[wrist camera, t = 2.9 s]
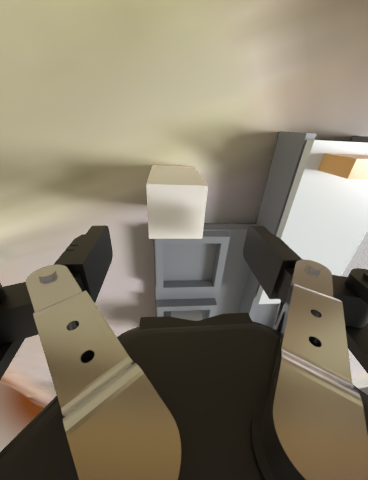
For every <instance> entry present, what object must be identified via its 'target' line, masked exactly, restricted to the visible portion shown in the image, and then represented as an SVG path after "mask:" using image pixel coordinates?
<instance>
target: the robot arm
mask: <svg viewBox="0 0 368 480" xmlns="http://www.w3.org/2000/svg"><path fill="white" fill-rule="evenodd" d="M243 256H244V259H245V261H246V262H247V264H248V265H249V267H250V269H251V270H252V272H253V274H254V275H255V277H256V278H257V280H258V282H259V283H260V285H261V286H262V288H263V290H264V291H265V293H266V294H267V296H268V298H269V299H280V300H281V302H280V304H279V307H278V311H277V315H276V319H275V323H274V327H273V328H271V327H269V326H266V325H264V324H261V323H257V322H253V321H252V320H251V318H250V316H249V313H227V314H220V315H217V316H213V317H210V318H206V319H203V320H199V321H192V320H187V319H181V318H175V317H169V316H163V317H142V318H141V319H140V327H137V328H134V329H131V330H129V331H127V332H125V333H123V334H121V335H120V336H118V337H116V335H115V334H114V332H113V331H112V329H111V328H110V326H109V325H108V323H107V322H106V320H105V318H104V317H103V315H102V314H101V312H100V311H99V309H98V308H97V306H96V305H95V302H96V299H97V297H98V294H99V292H100V289H101V286H102V284H103V281H104V279H105V276H106V274H107V271H108V269H109V266H110V264H111V261H112V246H111V240H110V234H109V229H108V226H92V227H91V228H90V229H89V231H88V232H87V233H86V235H81V236H79V237H77V238H76V239H74V240H73V241H72V243H71V244H70V246H68V248H67V249H66V251H64V253H63V254H62V255H61V256H60V257H59V259H58V260H57V261H56V262H55V264H54V265H49V266H45V267H42V268H40V269H38V270H36V271H34V272H33V273H31V274H30V275H29V276H28V277H27V279H26V282H24V283H19V284H14V285H10V286H5V287H2V285H1V283H0V380H1V378H2V376H3V375H4V373H5V371H6V370H7V368H8V366H9V364H10V363H11V361H12V359H13V358H14V356H15V354H16V353H17V351H18V349H19V348H20V346H21V344H22V343H23V341H24V339H25V338H27V337H31V336H34V335H37V334H39V336H40V340H41V343H42V347H43V350H44V353H45V357H46V360H47V363H48V367H49V370H50V374H51V377H52V380H53V384H54V387H55V390H56V394H57V396H56V397H55V398H54V399H53V400H52V401H51V402H50V403H49V404H48V405H47V406H46V407H45V408H44V409H43V410H42V411H41V412H40V413H39V414H38V415H37V416H36V417H35V418H34V419H33V420H32V421H31V422H30V423H29V424H28V425H27V426H26V427H25V428H24V429H23V430H22V431H21V432H20V433H19V434H18V435H17V436H16V437H15V438H14V439H13V440H12V441H11V442H10V443H9V444H8V445H7V446H6V447H5V448H4V449H3V450H2V451H1V452H0V480H368V395H366V394H365V393H364V392H362V391H361V390H359V389H358V388H357V387H355V386H354V385H353V384H352V379H351V370H350V362H349V353H348V349H349V350H350V351H351V352H352V354H353V355H354V356H355V358H356V359H357V360H358V361H359V363H360V364H361V365H362V367H363V368H364V369H365V370H366V372H367V373H368V270H366V269H359V268H357V269H353V270H351V272H350V274H349V275H348V277H343V276H337V275H332V273H331V271H330V270H329V269H328V268H327V267H325V266H324V265H322V264H320V263H318V262H315V261H311V260H303V259H302V258H300V257H299V256H298V255H297V254H296V253H295V252H294V251H293V250H292V249H291V248H289V246H288V245H287V244H285V242H283V241H282V240H281V239H280V238H279V237H277V236H275V235H273V234H271V233H270V232H269V231H268V230H267V229H266V228H265V227H264V226H249V227H248V230H247V234H246V239H245V243H244V248H243Z"/></svg>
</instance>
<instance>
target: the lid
mask: <svg viewBox="0 0 368 480" xmlns="http://www.w3.org/2000/svg"><path fill="white" fill-rule="evenodd" d="M367 231H368V143H365V142H347V141H328V140H309V139H307V142H306V145H305V148H304V151H303V154H302V157H301V160H300V163H299V166H298V169H297V173H296V176H295V179H294V182H293V185H292V188H291V191H290V194H289V197H288V200H287V203H286V206H285V210H284V213H283V216H282V219H281V222H280V225H279V228H278V231H277V234H276V236H277V237H279V238H280V239H281V240H282V241H283V242H285V244H287V245H288V246H289V248H291V249H292V250H293V251H294V252H295V253H296V254H297V255H298V256H299V257H300V258H302V259H303V260H311V261H315V262H318V263H320V264H322V265H324V266H325V267H327V268H328V269H329V270H330V271H331V273H332V275H337V276H342V274H343V272H344V271H345V269H346V267H347V265H348V264H349V262H350V260H351V259H352V257H353V255H354V253H355V252H356V250H357V248H358V247H359V245H360V243H361V241H362V240H363V238H364V236H365V235H366V233H367ZM256 300H257V302H258V304H280V302H281V300H280V299H269V298H268V296H267V294H266V293H265V291H264V290H263V288H262V286H261V285H260V287H259V290H258V293H257V296H256Z"/></svg>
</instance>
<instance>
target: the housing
mask: <svg viewBox="0 0 368 480" xmlns="http://www.w3.org/2000/svg"><path fill="white" fill-rule="evenodd" d="M315 137H316V134H314V133H294V132H279V135H278V139H277V143H276V147H275V151H274V155H273V159H272V162H271V166H270V170H269V174H268V178H267V182H266V186H265V190H264V194H263V198H262V201H261V205H260V209H259V213H258V217H257V221H256V224H210V223H204V228H203V237H202V239H154V261H155V291H156V317H163V316H169V317H175V318H181V319H187V320H192V321H199V320H203V319H206V318H210V317H213V316H217V315H220V314H227V313H249V316H250V318H251V320H252V321H253V322H257V323H261V324H264V325H266V326H269V327H271V328H273V327H274V323H275V319H276V315H277V311H278V307H279V304H258V302H257V300H256V296H257V293H258V290H259V287H260V283H259V282H258V280H257V278H256V277H255V275H254V274H253V272H252V270H251V269H250V267H249V265H248V264H247V262H246V261H245V259H244V256H243V248H244V243H245V239H246V234H247V230H248V227H249V226H264V227H265V228H266V229H267V230H268V231H269V232H270V233H271V234H273V235H275V236H276V234H277V231H278V228H279V225H280V222H281V219H282V216H283V213H284V210H285V206H286V203H287V200H288V197H289V194H290V191H291V188H292V185H293V182H294V179H295V176H296V173H297V169H298V166H299V163H300V160H301V157H302V154H303V151H304V148H305V145H306V142H307V139H309V140H315ZM351 142H365V143H368V137H364V136H353V137H352V140H351Z"/></svg>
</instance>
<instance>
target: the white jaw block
mask: <svg viewBox="0 0 368 480" xmlns="http://www.w3.org/2000/svg"><path fill="white" fill-rule="evenodd" d="M146 189H147V210H148V231H149V239H202V237H203V228H204V219H205V210H206V201H207V192H208V185H207V183H206V182H205V181H204V179H203V178H202V177H201V175H200V174H199V172H198V171H197V170H196V168H195V167H191V166H164V165H152V168H151V171H150V174H149V177H148V180H147V183H146Z"/></svg>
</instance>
